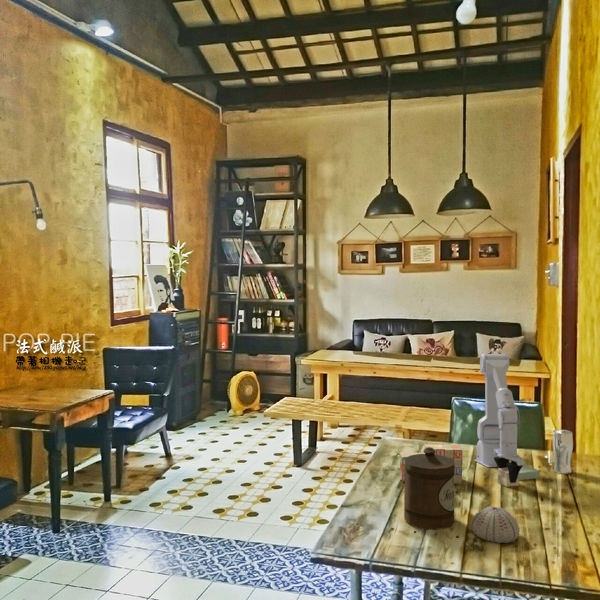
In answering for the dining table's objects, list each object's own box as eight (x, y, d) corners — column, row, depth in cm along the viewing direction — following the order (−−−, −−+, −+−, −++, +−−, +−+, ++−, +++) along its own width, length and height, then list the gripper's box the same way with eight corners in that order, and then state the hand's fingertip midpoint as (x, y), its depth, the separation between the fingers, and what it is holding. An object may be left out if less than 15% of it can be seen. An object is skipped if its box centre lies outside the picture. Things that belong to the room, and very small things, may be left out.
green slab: (503, 473, 229) (503, 465, 229) (523, 471, 231) (523, 463, 231) (518, 481, 220) (518, 473, 220) (539, 478, 223) (539, 470, 223)
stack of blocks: (401, 482, 219) (401, 448, 218) (399, 477, 225) (399, 443, 224) (462, 483, 217) (462, 449, 217) (459, 478, 224) (459, 444, 223)
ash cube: (497, 482, 218) (497, 468, 218) (509, 480, 219) (509, 467, 219) (506, 487, 213) (506, 472, 213) (518, 485, 214) (518, 471, 214)
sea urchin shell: (486, 523, 182) (486, 496, 182) (529, 537, 172) (529, 509, 172) (461, 535, 174) (461, 507, 173) (504, 551, 163) (504, 521, 163)
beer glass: (575, 474, 226) (576, 434, 226) (556, 474, 226) (557, 434, 226) (567, 468, 233) (568, 429, 233) (549, 468, 233) (549, 429, 233)
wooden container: (455, 531, 176) (455, 456, 175) (403, 527, 179) (403, 453, 178) (453, 512, 191) (453, 442, 190) (405, 509, 194) (405, 440, 193)
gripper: (486, 437, 221) (486, 474, 222) (511, 448, 207) (511, 487, 208) (503, 435, 223) (503, 472, 224) (529, 446, 209) (528, 485, 210)
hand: (508, 479), depth 216 cm, fingers closed on ash cube, 5 cm apart
